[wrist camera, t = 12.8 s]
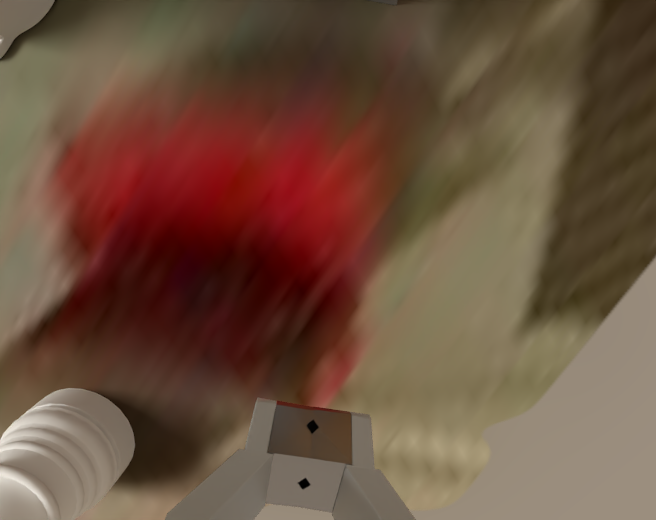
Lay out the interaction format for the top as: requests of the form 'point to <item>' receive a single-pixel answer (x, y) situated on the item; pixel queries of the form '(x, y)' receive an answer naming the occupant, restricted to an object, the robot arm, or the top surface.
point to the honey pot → (63, 456)
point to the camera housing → (386, 1)
